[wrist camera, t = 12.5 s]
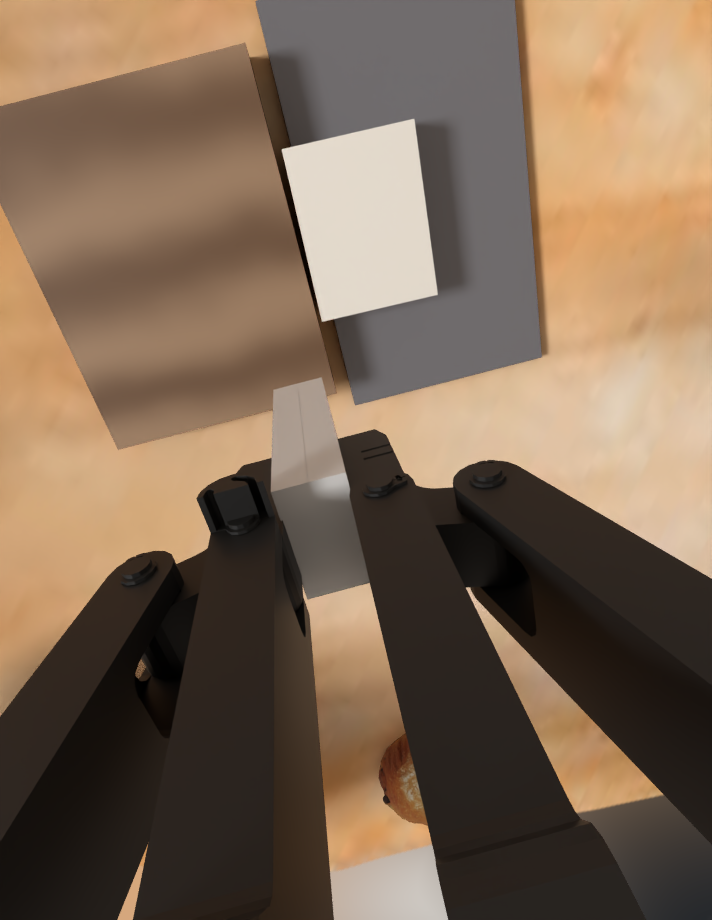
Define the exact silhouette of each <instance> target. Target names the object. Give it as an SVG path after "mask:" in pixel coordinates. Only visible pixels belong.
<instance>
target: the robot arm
mask: <svg viewBox="0 0 712 920" xmlns="http://www.w3.org/2000/svg"><path fill="white" fill-rule="evenodd" d="M196 499H197V501H198V503H199V506H200V508H201V511H202V513H203V515H204V518H205V520H206V523H207V525H208V527H209V530H210V532H211V535H210V540H209V545H208V549H206V550H205V551H203V552H201V553H199V554H197V555H196V556H194V557H191V558H189V559H187V560H185V561H183V562H181V563H178V564H176V563H175V561H174V558H173V556H172V554H170V553H168V552H166V551H152V552H148V553H142V554H139V555H136V557H132V558H130V559H128V560H127V561H126V562H125V563H123V564H122V565H120V566H119V567H117V568H116V569H115V570H114V571H113V572H112V573H111V574H110V575H109V576H108V577H107V578H106V580H105V581H104V582H103V584H102V585H101V586H100V588H99V589H98V590H97V591H96V593H95V594H94V595H93V597H92V598H91V599H90V601H89V602H88V603H87V605H86V606H85V607H84V608H83V610H82V611H81V612H80V614H79V615H78V616H77V618H76V619H75V620H74V621H73V623H72V624H71V625H70V627H69V628H68V629H67V631H66V632H65V633H64V634H63V636H62V637H61V638H60V640H59V641H58V642H57V644H56V645H55V646H54V647H53V649H52V650H51V651H50V653H49V654H48V655H47V657H46V658H45V659H44V660H43V662H42V663H41V664H40V666H39V667H38V668H37V670H36V671H35V672H34V674H33V675H32V676H31V677H30V679H29V680H28V681H27V683H26V684H25V685H24V687H23V688H22V689H21V690H20V692H19V693H18V694H17V696H16V697H15V698H14V700H13V701H12V702H11V703H10V705H9V706H8V707H7V709H6V710H5V711H4V713H3V714H2V715H1V716H0V920H117V919H118V916H119V914H120V911H121V909H122V906H123V904H124V901H125V899H126V897H127V894H128V892H129V889H130V887H131V884H132V882H133V879H134V877H135V874H136V872H137V869H138V867H139V864H140V862H141V859H142V857H143V854H144V852H145V849H146V847H147V845H148V848H147V853H146V858H145V863H144V868H143V873H142V878H141V883H140V888H139V893H138V898H137V902H136V907H135V912H134V917H133V920H334V917H333V904H332V892H331V879H330V867H329V854H328V842H327V829H326V817H325V804H324V792H323V779H322V767H321V754H320V742H319V729H318V717H317V704H316V692H315V679H314V667H313V654H312V642H311V629H310V617H309V612H308V610H307V607H306V604H305V601H304V598H303V589H302V585H303V588H304V590H305V593H306V596H307V599H311V598H315V597H318V596H322V595H326V594H329V593H333V592H337V591H341V590H344V589H348V588H352V587H355V586H359V585H363V584H367V583H370V585H371V589H372V594H373V598H374V602H375V606H376V610H377V615H378V619H379V623H380V627H381V631H382V635H383V640H384V644H385V648H386V652H387V656H388V661H389V665H390V669H391V673H392V677H393V682H394V686H395V690H396V694H397V698H398V703H399V707H400V711H401V715H402V719H403V723H404V728H405V732H406V736H407V740H408V744H409V749H410V753H411V757H412V761H413V765H414V770H415V774H416V778H417V782H418V786H419V791H420V795H421V799H422V803H423V807H424V811H425V816H426V820H427V824H428V828H429V832H430V837H431V841H432V845H433V849H434V854H435V859H436V867H437V872H438V877H439V881H440V886H441V890H442V895H443V899H444V903H445V907H446V912H447V916H448V920H646V919H645V917H644V915H643V912H642V911H641V909H640V907H639V905H638V903H637V901H636V899H635V897H634V895H633V893H632V891H631V889H630V887H629V885H628V883H627V881H626V880H625V877H624V875H623V874H622V872H621V870H620V868H619V866H618V864H617V862H616V860H615V859H614V857H613V855H612V853H611V851H610V850H609V848H608V846H607V844H606V843H605V841H604V839H603V837H602V836H601V835H600V834H599V832H598V831H597V829H596V828H595V827H594V826H593V824H592V823H591V822H588V821H585V820H582V819H580V817H579V816H578V815H577V813H576V812H575V810H574V809H573V807H572V805H571V803H570V801H569V799H568V797H567V795H566V793H565V791H564V789H563V787H562V785H561V783H560V781H559V779H558V777H557V775H556V773H555V771H554V769H553V767H552V764H551V762H550V760H549V758H548V756H547V754H546V752H545V750H544V748H543V746H542V744H541V742H540V740H539V738H538V736H537V734H536V732H535V729H534V727H533V725H532V723H531V721H530V719H529V717H528V715H527V713H526V711H525V709H524V707H523V705H522V703H521V701H520V699H519V697H518V695H517V692H516V690H515V688H514V686H513V684H512V682H511V680H510V678H509V676H508V674H507V672H506V670H505V668H504V666H503V664H502V662H501V660H500V657H499V655H498V653H497V651H496V649H495V647H494V645H493V643H492V641H491V639H490V637H489V635H488V633H487V631H486V629H485V627H484V625H483V623H482V620H481V618H480V616H479V614H478V612H477V610H476V608H475V606H474V604H473V602H472V600H471V598H470V596H469V594H468V592H467V590H466V588H465V587H471V591H472V593H473V595H474V596H475V598H476V599H477V600H478V601H479V602H480V603H481V604H482V605H483V606H484V607H485V608H486V609H487V611H488V612H489V613H490V614H491V615H492V616H493V617H494V618H495V619H496V620H497V621H498V622H499V623H500V624H501V625H502V626H503V627H504V628H505V629H506V630H507V631H508V632H509V633H510V635H511V636H512V637H513V638H514V639H515V640H516V641H517V642H518V643H519V644H520V645H521V646H522V647H523V648H524V649H525V650H526V651H527V652H528V653H529V654H530V655H531V656H532V657H533V659H534V660H535V661H536V662H537V663H538V664H539V665H540V666H541V667H542V668H543V669H544V670H545V671H546V672H547V673H548V674H549V675H550V676H551V677H552V678H553V679H554V680H555V681H556V683H557V684H558V685H559V686H560V687H561V688H562V689H563V690H564V691H565V692H566V693H567V694H568V695H569V696H570V697H571V698H572V699H573V700H574V701H575V702H576V703H577V704H578V705H579V707H580V708H581V709H582V710H583V711H584V712H585V713H586V714H587V715H588V716H589V717H590V718H591V719H592V720H593V721H594V722H595V723H596V724H597V725H598V726H599V727H600V728H601V729H602V731H603V732H604V733H605V734H606V735H607V736H608V737H609V738H610V739H611V740H612V741H613V742H614V743H615V744H616V745H617V746H618V747H619V748H620V749H621V750H622V751H623V752H624V753H625V755H626V756H627V757H628V758H629V759H630V760H631V761H632V762H633V763H634V764H635V765H636V766H637V767H638V768H639V769H640V770H641V771H642V772H643V773H644V774H645V775H646V776H647V778H648V779H649V780H650V781H651V782H652V783H653V784H654V785H655V786H656V787H657V788H658V789H659V790H660V791H661V792H662V793H663V794H664V795H665V796H666V797H667V798H668V799H669V800H670V802H671V803H672V804H673V805H674V806H675V807H676V808H677V809H678V810H679V811H680V812H681V813H682V814H683V815H684V816H685V817H686V818H687V819H688V820H689V821H690V822H691V823H692V824H693V826H694V827H696V829H698V831H699V832H700V833H701V834H702V835H703V836H704V837H705V838H706V839H707V840H708V841H709V842H710V843H711V844H712V579H711V578H709V577H708V576H706V575H704V574H702V573H701V572H699V571H697V570H696V569H694V568H692V567H690V566H689V565H687V564H685V563H684V562H682V561H680V560H678V559H677V558H675V557H673V556H672V555H670V554H668V553H666V552H665V551H663V550H661V549H660V548H658V547H656V546H654V545H653V544H651V543H649V542H648V541H646V540H644V539H642V538H641V537H639V536H637V535H636V534H634V533H632V532H630V531H629V530H627V529H625V528H624V527H622V526H620V525H618V524H617V523H615V522H613V521H612V520H610V519H608V518H606V517H605V516H603V515H601V514H600V513H598V512H596V511H594V510H593V509H591V508H589V507H587V506H586V505H584V504H582V503H581V502H579V501H577V500H575V499H574V498H572V497H570V496H569V495H567V494H565V493H563V492H562V491H560V490H558V489H557V488H555V487H553V486H551V485H550V484H548V483H546V482H545V481H543V480H541V479H539V478H538V477H536V476H534V475H533V474H531V473H529V472H527V471H526V470H524V469H522V468H521V467H519V466H517V465H514V464H512V463H509V462H504V461H495V460H487V461H480V462H478V463H475V464H472V465H469V466H467V467H465V468H463V469H461V470H460V471H459V472H458V473H457V474H456V475H455V476H454V479H453V488H438V489H430V488H422V487H419V486H416V485H415V483H414V481H413V479H412V478H411V477H410V476H409V475H408V474H405V473H404V472H403V470H402V468H401V466H400V463H399V461H398V459H397V457H396V455H395V453H394V451H393V449H392V447H391V445H390V442H389V440H388V438H387V436H386V435H385V434H383V433H381V432H379V431H377V430H375V429H374V430H370V431H367V432H363V433H359V434H355V435H351V436H348V437H344V438H340V439H338V437H337V433H336V430H335V426H334V422H333V418H332V415H331V411H330V407H329V403H328V400H327V396H326V392H325V388H324V385H323V381H322V377H321V378H317V379H313V380H309V381H305V382H301V383H298V384H294V385H290V386H286V387H282V388H279V389H275V390H273V427H272V458H270V459H266V460H262V461H259V462H255V463H251V464H247V465H244V466H242V467H241V468H240V470H239V471H238V472H237V473H236V474H233V475H230V476H227V477H224V478H221V479H219V480H217V481H215V482H213V483H211V484H210V485H208V486H207V487H206V488H205V489H203V490H202V491H201V492H200V494H199V495H198V497H197V498H196ZM140 659H142V661H143V663H144V664H145V666H146V668H145V670H144V672H143V674H142V676H141V677H140V678H139V679H138V678H137V677H136V676H135V672H136V669H137V666H138V664H139V661H140ZM148 842H149V843H148Z"/></svg>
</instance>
